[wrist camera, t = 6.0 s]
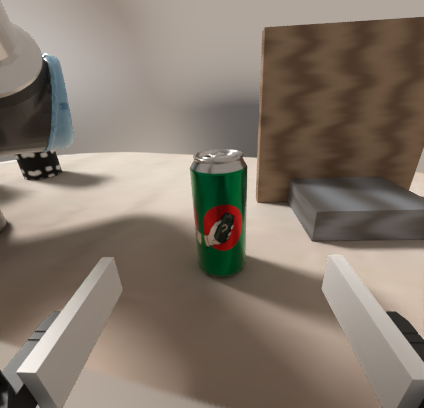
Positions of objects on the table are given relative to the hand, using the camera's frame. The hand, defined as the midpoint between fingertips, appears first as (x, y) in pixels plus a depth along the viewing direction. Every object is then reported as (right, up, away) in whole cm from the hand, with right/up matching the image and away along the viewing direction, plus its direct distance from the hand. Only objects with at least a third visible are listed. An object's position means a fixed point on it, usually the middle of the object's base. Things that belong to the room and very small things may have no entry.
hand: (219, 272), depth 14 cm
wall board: (+19, +3, +19) cm, 27 cm away
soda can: (+1, -2, +11) cm, 11 cm away
